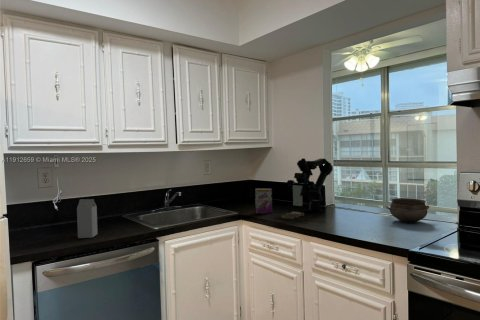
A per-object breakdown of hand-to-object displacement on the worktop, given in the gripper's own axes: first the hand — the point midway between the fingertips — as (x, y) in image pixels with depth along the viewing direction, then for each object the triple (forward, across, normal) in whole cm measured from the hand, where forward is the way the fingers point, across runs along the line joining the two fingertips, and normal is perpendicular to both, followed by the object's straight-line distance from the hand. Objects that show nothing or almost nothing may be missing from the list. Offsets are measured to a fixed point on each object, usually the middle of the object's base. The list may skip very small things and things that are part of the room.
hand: (296, 195), depth 201 cm
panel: (+4, 0, +6) cm, 7 cm away
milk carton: (+82, -60, -63) cm, 120 cm away
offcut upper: (+10, 0, +7) cm, 13 cm away
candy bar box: (+12, -23, +7) cm, 27 cm away
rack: (+13, 0, +6) cm, 14 cm away
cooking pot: (-8, +58, +27) cm, 64 cm away
